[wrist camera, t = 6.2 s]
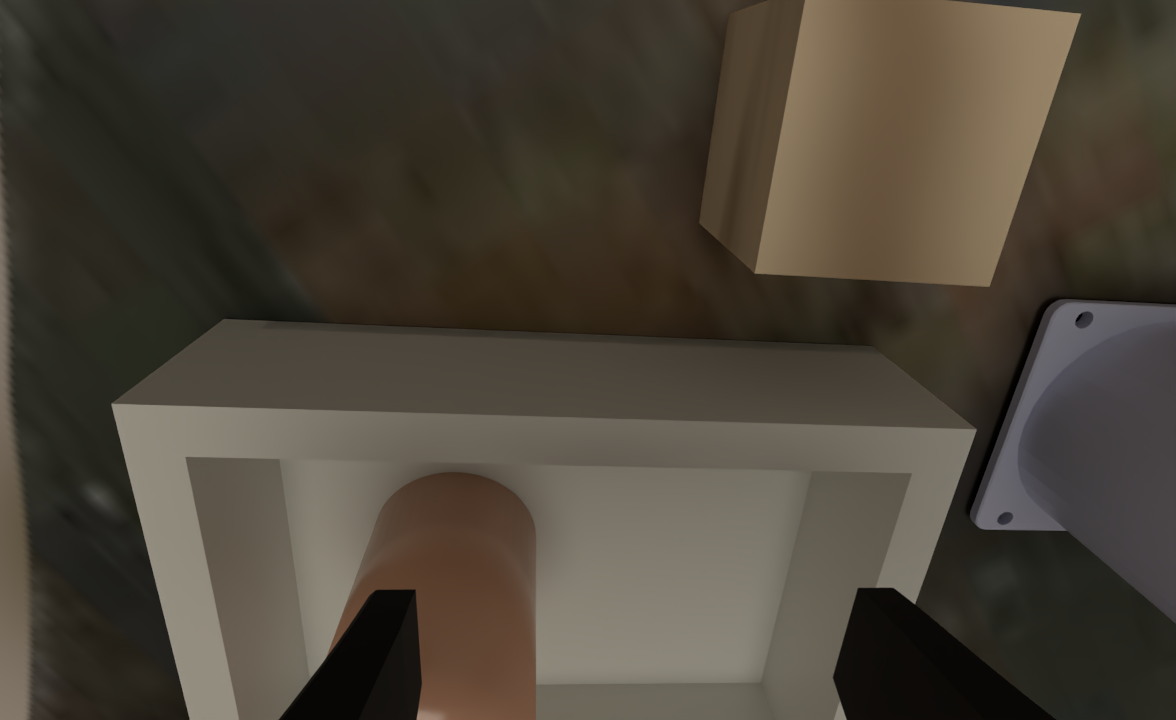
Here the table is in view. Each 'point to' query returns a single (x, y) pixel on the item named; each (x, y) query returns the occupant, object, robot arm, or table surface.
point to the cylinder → (460, 592)
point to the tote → (543, 502)
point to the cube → (878, 135)
